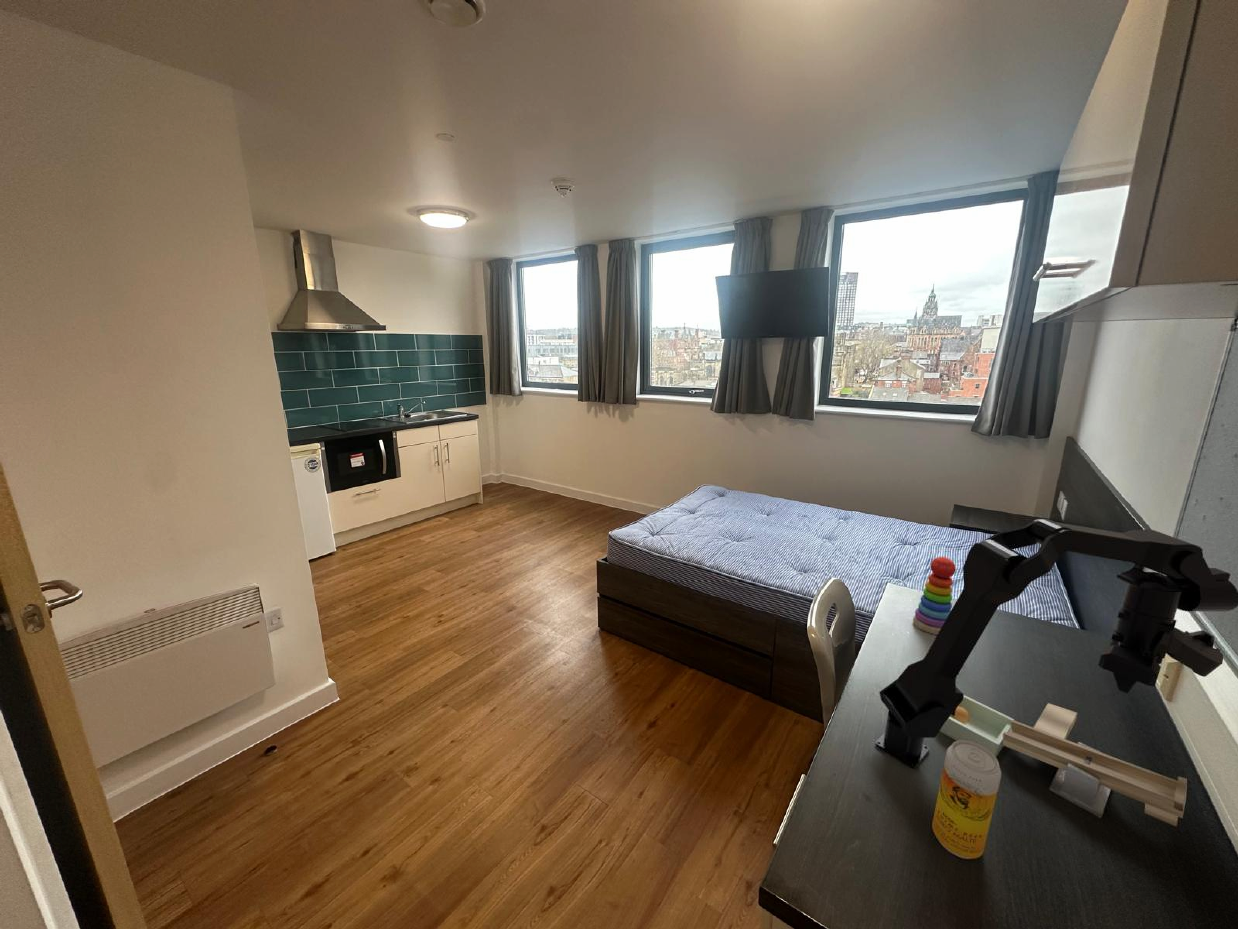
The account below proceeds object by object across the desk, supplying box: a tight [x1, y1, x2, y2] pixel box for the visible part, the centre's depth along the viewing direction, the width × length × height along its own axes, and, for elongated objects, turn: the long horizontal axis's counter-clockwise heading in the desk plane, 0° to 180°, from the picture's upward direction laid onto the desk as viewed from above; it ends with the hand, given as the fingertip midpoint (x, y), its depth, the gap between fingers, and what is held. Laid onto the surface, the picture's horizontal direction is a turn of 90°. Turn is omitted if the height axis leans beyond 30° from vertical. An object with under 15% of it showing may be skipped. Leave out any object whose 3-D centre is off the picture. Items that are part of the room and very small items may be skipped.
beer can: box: [931, 740, 1002, 860], centre depth 67 cm, size 6×6×15 cm
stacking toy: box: [912, 556, 957, 635], centre depth 118 cm, size 8×8×19 cm
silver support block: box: [1049, 741, 1112, 819], centre depth 76 cm, size 8×6×6 cm
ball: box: [950, 706, 969, 724], centre depth 89 cm, size 3×3×3 cm
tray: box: [939, 695, 1015, 758], centre depth 88 cm, size 9×9×4 cm
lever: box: [1003, 702, 1188, 827], centre depth 79 cm, size 17×20×5 cm
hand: (1123, 691), depth 81 cm, fingers closed
